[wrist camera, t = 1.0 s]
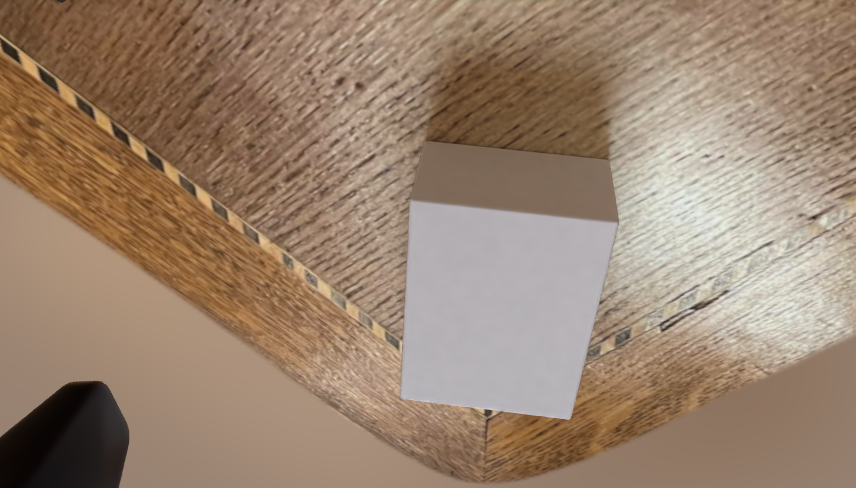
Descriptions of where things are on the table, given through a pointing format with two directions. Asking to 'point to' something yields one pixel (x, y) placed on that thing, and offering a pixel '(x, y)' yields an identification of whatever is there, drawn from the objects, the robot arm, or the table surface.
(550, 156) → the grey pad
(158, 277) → the table surface
